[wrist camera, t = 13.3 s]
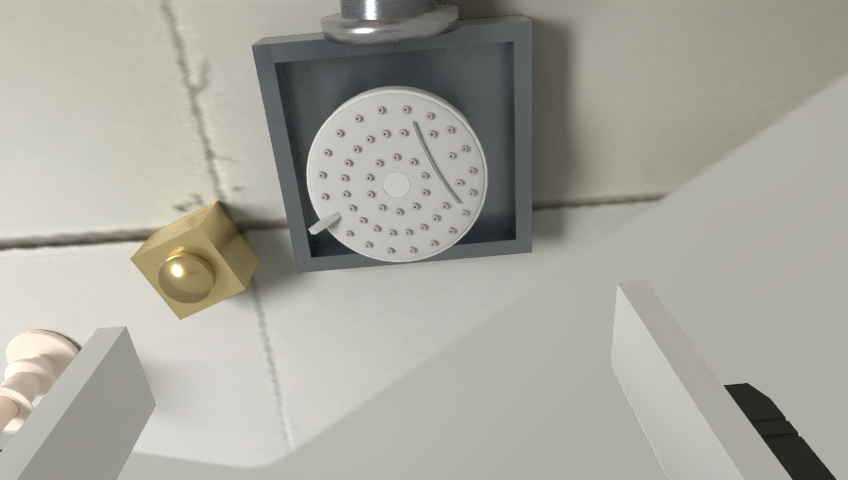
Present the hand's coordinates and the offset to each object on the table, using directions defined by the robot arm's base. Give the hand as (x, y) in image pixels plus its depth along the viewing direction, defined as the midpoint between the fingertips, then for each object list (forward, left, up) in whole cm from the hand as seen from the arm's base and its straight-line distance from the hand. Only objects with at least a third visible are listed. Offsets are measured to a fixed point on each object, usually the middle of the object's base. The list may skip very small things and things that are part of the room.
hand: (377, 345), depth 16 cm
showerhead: (0, -2, -22) cm, 22 cm away
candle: (-27, -15, -23) cm, 39 cm away
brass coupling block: (-13, -7, -23) cm, 28 cm away
